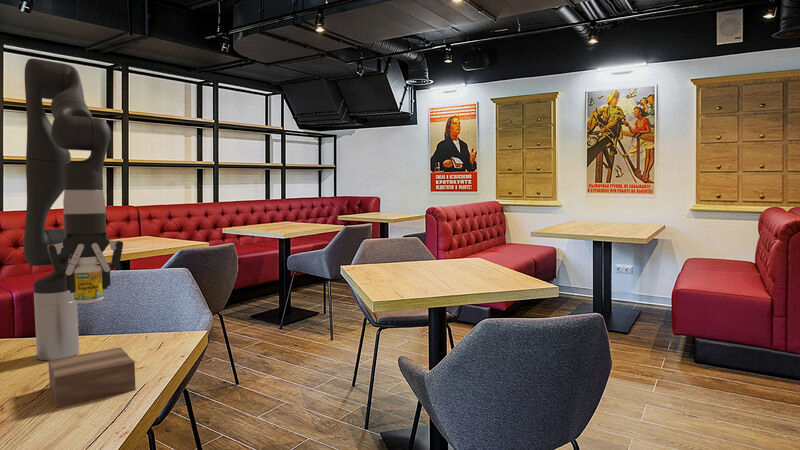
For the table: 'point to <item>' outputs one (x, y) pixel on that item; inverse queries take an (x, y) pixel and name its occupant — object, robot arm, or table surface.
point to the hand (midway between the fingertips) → (88, 290)
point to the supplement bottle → (88, 280)
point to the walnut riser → (91, 376)
